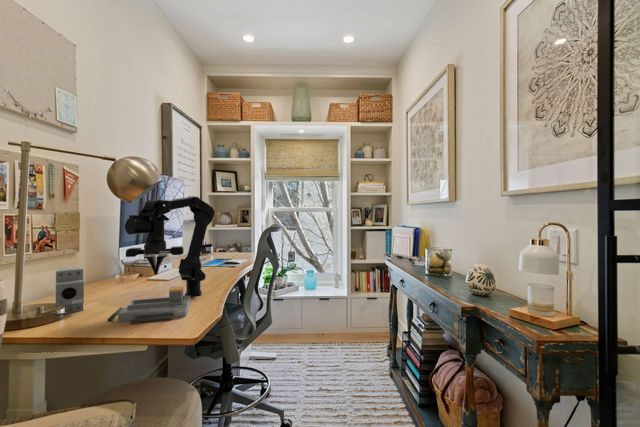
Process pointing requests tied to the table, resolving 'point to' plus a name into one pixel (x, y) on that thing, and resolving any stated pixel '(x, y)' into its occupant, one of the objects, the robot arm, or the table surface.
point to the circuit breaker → (70, 288)
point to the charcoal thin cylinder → (150, 319)
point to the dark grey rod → (114, 314)
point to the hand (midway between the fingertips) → (155, 274)
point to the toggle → (176, 294)
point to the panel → (154, 308)
